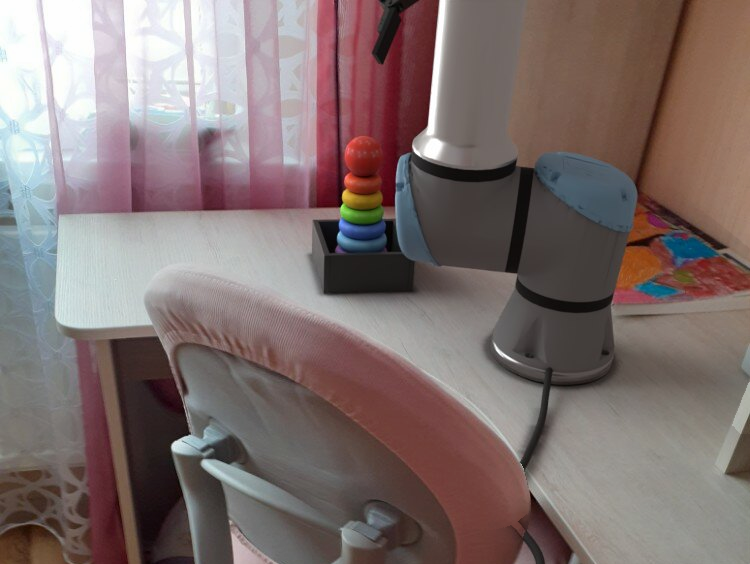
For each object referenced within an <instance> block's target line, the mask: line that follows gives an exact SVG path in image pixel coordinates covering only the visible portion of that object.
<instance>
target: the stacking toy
mask: <svg viewBox="0 0 750 564" xmlns="http://www.w3.org/2000/svg"><path fill="white" fill-rule="evenodd" d="M383 158H384V154H383V149H382V146H381V145H380V143H379V142H378V141H377V140H376V139H374V137H371V136H368V135H359V136H356V137H354V138H352V140H350V141H349V142H348V143H347V145H346V148H345V150H344V162H345V165H346V168H347V169H348V170H349V172H348V173H347V174H346V175H345V176H344V177H345V178H344V181H343V182H344V186H345V190H343V192H342V196H341V199H342V205H340V211H339V212H340V213H339V214H340V216H341V218H340V219H341V220H340V222H339V229H340V232H339V233H338V236H337V242H338V246H337V247H336V249H335V253H368V252H387V250H386V248H385V246H386V242H387V238H386V235H385V233H384V232H385V229H386V224H385V221H384V220H383V219H384V218H383V217H384V214H385V212H384V210H385V209H384V207H383V206H382V203H383V200H384V198H383V194H382V192H381V190H380V189H381V187H382V185H383V184H382V183H383V180H382V177H381V176H380V175H379V174H378V173H377V172H378V171H379V170H380V168H381V166H382V163H383V160H384V159H383Z"/></svg>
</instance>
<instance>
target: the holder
mask: <svg viewBox="0 0 750 564" xmlns="http://www.w3.org/2000/svg"><path fill="white" fill-rule="evenodd" d="M382 219H383V220H384V221H385V224H386V229H385V232H384V233H385V235H386V238H387V242H386V246H385V248H386V250H387V252H368V253H335V249H336V247H337V246H338V242H337V236H338V233H339V232H340V229H339V222H340V220H341V218H337V219H335V218H333V219H331V218H330V219H312V221H311V257H312V260H313V263H314V267H315V271H316V273H317V274H316V275H317V276H318V280H319V284H320V287H321V290H322V293H323V294H324V295H325V294H357V293H360V294H361V293H391V292H395V293H396V292H413V289H414V280H415V271H416V270H415V269H416V261H413V260H410V259H408V258H407V257H406V256H405V255H404V254H403V252H402V250H401V248H400V246H399V242H398V236H397V228H396V218H382Z"/></svg>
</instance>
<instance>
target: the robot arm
mask: <svg viewBox="0 0 750 564" xmlns="http://www.w3.org/2000/svg"><path fill="white" fill-rule="evenodd" d="M377 1H378V3H379V5H380V6H381V8H382V9H383V12H382V14H381V16H380V19H379V22H378V24H377V27H376V30H377V33H378V37H377V39H376V42H375V44H374V46H373V48H372V51H371V55H372V56H373V58H374V59H375V61H376V63H377V64H378V65H381V66H384V64H385V62H386V59H387V56H388V54H389V51H390V49H391V47H392V45H393V42H394V40H395V37H396V34H397V33H398V30H399V28H400V26H401V22H402V18H401V16H400V14H402V13H404V12H405V11H406V10H408V9H409V8H410V7H412V6H413V5H415V4H416V3H418V2H419V1H420V0H377ZM527 4H528V0H438V10H437V21H436V33H435V43H434V52H433V53H434V54H433V64H432V75H431V76H432V77H431V87H430V99H429V110H428V120H427V126H426V128H424V129H423V130H422V131H421V132H420V133H419V134H417V136H415V137H414V138H413V140H412V145H411V152H408V153H406V154H402V155H401V156H400V157H399V159H398V162H397V167H396V172H395V174H396V175H395V193H394V194H395V195H394V196H395V197H394V207H395V209H394V210H395V212H394V213H395V219H396V228H397V236H398V242H399V246H400V248H401V250H402V252H403V254H404V255H405V256H406V257H407V258H408V259H410V260H413V261H415V262H417V263H425V264H431V265H433V266H435V267H437V268H438V267H440V268H441V267H451V268H452V267H453V268H461V269H471V270H478V271H479V270H480V271H489V272H496V273H497V272H498V273H506V274H516V279H515V284H514V290H513V292H512V293H511V295H510V297H509V299H508V301H507V303H506V304H505V306H504V308H503V309H502V312H501V313H500V315H499V317H498V319H497V321H496V322H495V325H494V327H493V329H492V332H491V336H490V337H491V338H490V343H489V347H490V348H489V349H490V353H491V355H492V357H493V358H494V360H496V361H497V363H499V365H501V366H502V367H503V368H505V369H507V370H508V371H510V372H512V373H514V374H515V375H518V376H520V377H523V378H525V379H528V380H531V381H535V382H539V383H543V387H542V392H541V393H542V394H541V401H540V409H539V414H538V418H537V421H536V425H535V427H534V430H533V433H532V435H531V437H530V440H529V442H528V443H527V446H526V448H525V450H524V452H523V455H522V457H521V459H520V461H519V463H521V464H522V466H523V468H524V471H525V470H526V468H527V467H528V465H529V463H530V461H531V459H532V457H533V454H534V452H535V450H536V448H537V446H538V443H539V441H540V438H541V436H542V433H543V430H544V427H545V424H546V421H547V416H548V409H549V400H550V393H551V392H550V391H551V387H552V385H559V386H561V385H562V386H573V385H581V384H587V383H591V382H594V381H596V380H599V379H601V378H603V377H604V376H605V375H606V374H607V373H608V372H609V371H610V369H611V366H612V363H613V359H614V356H615V339H614V338H615V337H614V326H613V313H612V302H613V299H614V296H615V291H616V287H617V283H618V280H619V277H620V276H619V275H620V272H621V269H622V268H621V267H622V264H623V260H624V256H625V253H626V248H627V245H628V241H629V240H628V239H629V238H630V233H631V232H632V230H633V229H634V218H635V214H636V207H637V201H638V190H637V186H636V185H635V182H634V181H633V180H632V179H631V177H629V175H627V174H626V173H625V172H624V171H622V170H620V169H619V168H617V167H616V166H614V165H612V164H609V163H607V162H605V161H602V160H600V159H597V158H593V157H591V156H588V155H584V154H579V153H575V152H569V151H568V152H567V151H558V152H555V151H547V152H545V153H542V154H541V155H539V157H538V158H537V160H536V161H535V163H534V167H528V166H520V165H517V162H518V156H519V148H518V147H517V145H516V144H515V142H514V141H513V140H512V139H511V138H510V136H509V134H508V129H509V124H510V123H509V122H510V118H511V117H510V116H511V109H512V105H513V104H512V103H513V96H514V89H515V83H516V77H517V70H518V64H519V57H520V50H521V45H522V44H521V43H522V37H523V31H524V23H525V17H526V10H527ZM521 540H522V541H523V542H524V543H525V544H526V546H527V547H528V549H529V551H530V552H531V554H532V556H533V559H534V561H535V564H546V560H545V559H546V558H545V557H544V553H543V551H542V549H541V547H540V545H539V544H538V543H537V541H536V540H535V539H534V538H533V536H532V535H531V534H530V533H529V531H527V529H526V532H525V533H524V536H523V538H521Z"/></svg>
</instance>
